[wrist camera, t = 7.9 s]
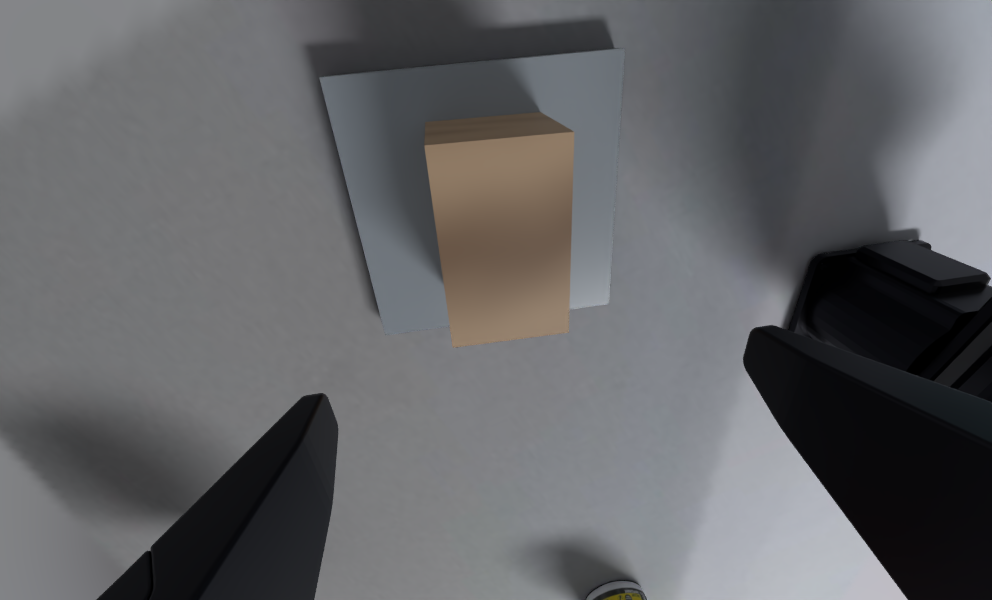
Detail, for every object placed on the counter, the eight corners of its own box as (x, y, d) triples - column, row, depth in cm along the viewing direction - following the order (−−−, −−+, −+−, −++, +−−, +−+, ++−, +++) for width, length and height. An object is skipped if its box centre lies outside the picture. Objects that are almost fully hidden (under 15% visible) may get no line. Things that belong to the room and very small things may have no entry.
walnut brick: (542, 278, 20) (568, 332, 16) (448, 289, 20) (452, 347, 16) (540, 112, 17) (574, 131, 13) (425, 122, 16) (424, 145, 12)
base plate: (601, 294, 22) (608, 304, 22) (387, 323, 22) (385, 335, 21) (615, 48, 17) (625, 48, 16) (325, 75, 16) (318, 77, 15)
